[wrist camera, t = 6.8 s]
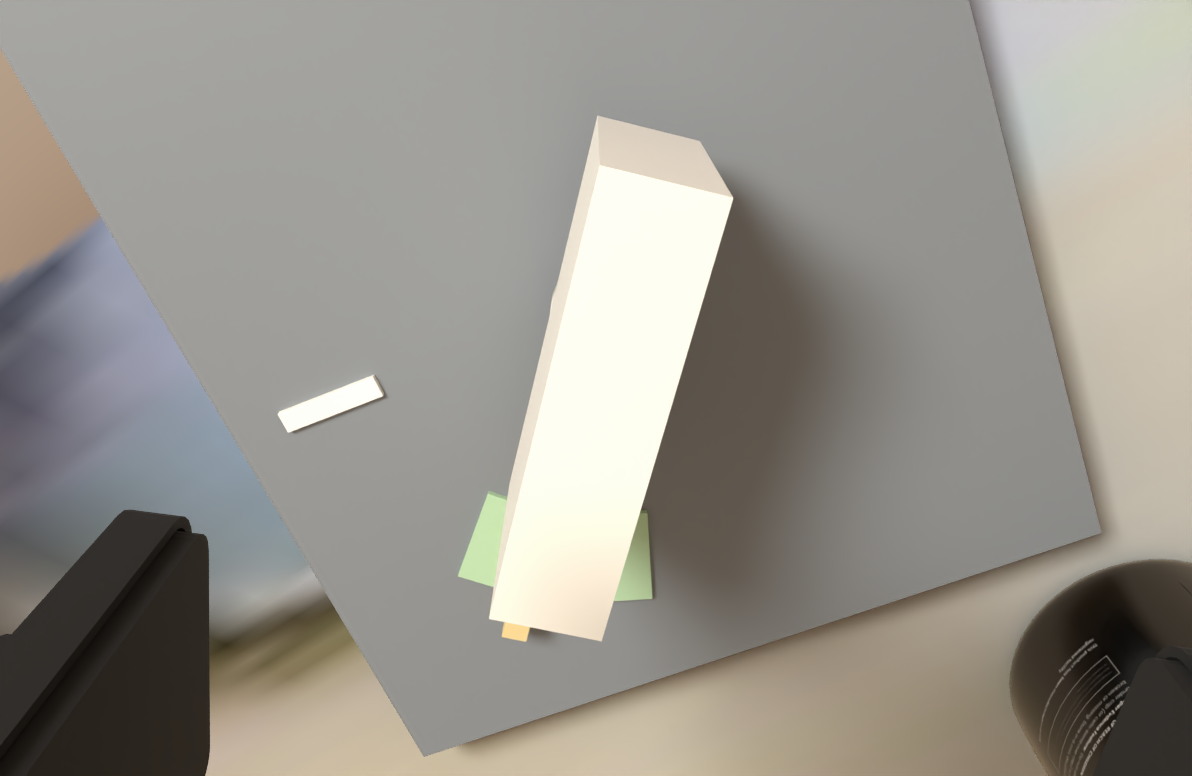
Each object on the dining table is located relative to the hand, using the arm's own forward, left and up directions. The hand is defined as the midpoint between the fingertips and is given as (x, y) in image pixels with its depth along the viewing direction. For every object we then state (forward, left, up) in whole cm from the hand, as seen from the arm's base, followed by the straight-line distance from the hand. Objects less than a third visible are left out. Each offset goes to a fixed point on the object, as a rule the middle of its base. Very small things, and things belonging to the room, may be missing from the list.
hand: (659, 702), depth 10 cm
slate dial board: (0, 0, -15) cm, 15 cm away
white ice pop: (+2, +2, -13) cm, 13 cm away
